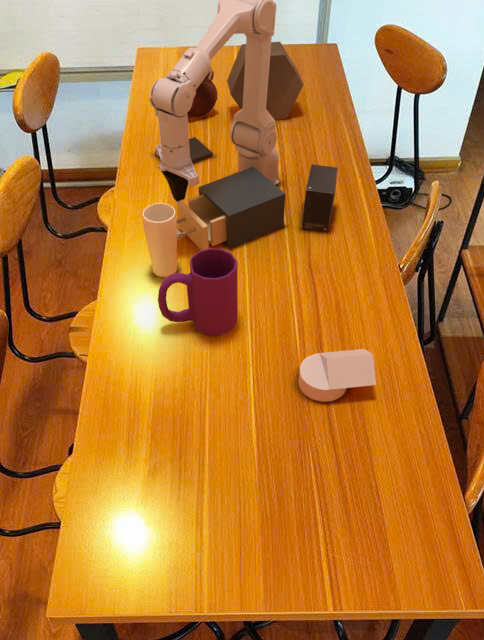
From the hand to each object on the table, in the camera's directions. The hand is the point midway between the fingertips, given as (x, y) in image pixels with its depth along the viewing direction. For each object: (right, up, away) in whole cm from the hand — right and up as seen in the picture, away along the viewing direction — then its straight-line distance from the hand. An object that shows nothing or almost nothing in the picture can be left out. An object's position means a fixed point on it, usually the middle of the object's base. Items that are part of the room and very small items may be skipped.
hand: (179, 198), depth 148 cm
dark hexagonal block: (+21, +36, +42) cm, 59 cm away
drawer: (+6, -6, +7) cm, 11 cm away
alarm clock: (+2, +35, +42) cm, 55 cm away
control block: (-1, +20, +29) cm, 35 cm away
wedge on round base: (+30, -40, -20) cm, 54 cm away
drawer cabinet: (+14, -2, +11) cm, 18 cm away
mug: (+5, -28, -9) cm, 30 cm away
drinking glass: (-3, -15, +1) cm, 16 cm away
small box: (+31, -1, +12) cm, 34 cm away
